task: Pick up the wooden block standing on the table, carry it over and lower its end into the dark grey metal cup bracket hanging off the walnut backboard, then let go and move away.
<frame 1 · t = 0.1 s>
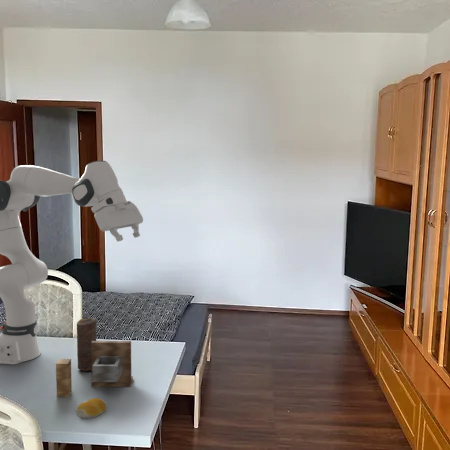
hand: (129, 238, 169), 54 cm above the table, tool tilted 30°, fingers open, 8 cm apart
bread roll: (91, 413, 158), on the table
bracket: (108, 392, 171), on the table
wooden block: (64, 394, 169), on the table
brown rough cylinder: (87, 369, 189), on the table
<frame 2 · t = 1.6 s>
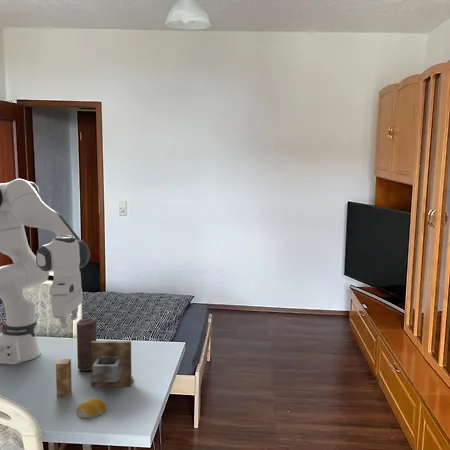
hand: (69, 323, 165), 26 cm above the table, tool pointing down, fingers open, 8 cm apart
nothing on the table moved.
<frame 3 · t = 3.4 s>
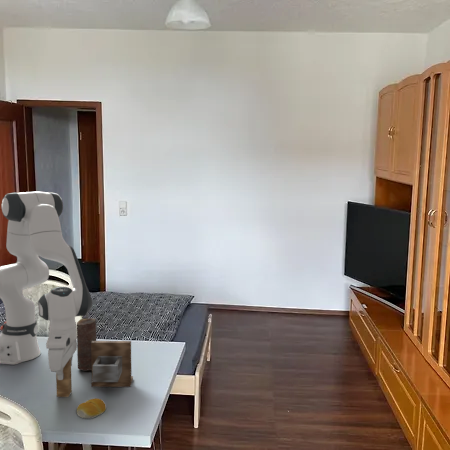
hand: (64, 373, 168), 8 cm above the table, tool pointing down, fingers open, 8 cm apart
nothing on the table moved.
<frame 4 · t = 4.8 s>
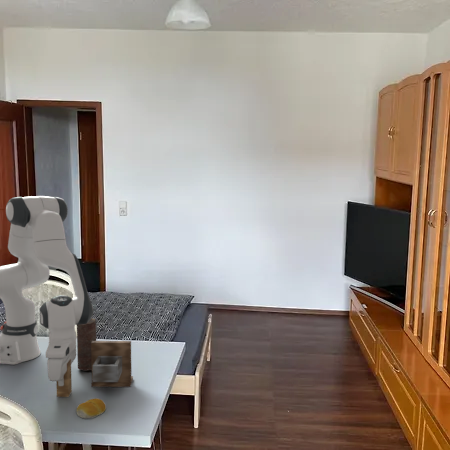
hand: (63, 381, 169), 5 cm above the table, tool pointing down, fingers closed on wooden block, 4 cm apart
wooden block: (64, 394, 169), on the table, touching gripper
everything else where it was.
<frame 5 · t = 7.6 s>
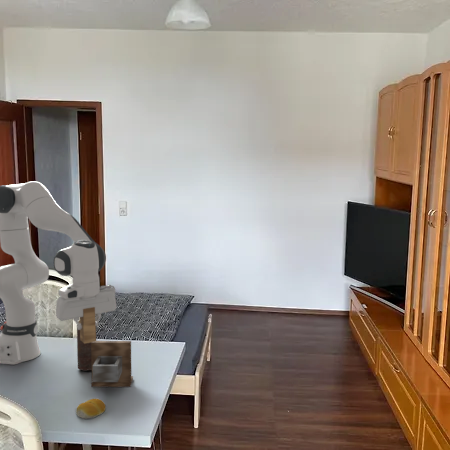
hand: (87, 327, 167), 24 cm above the table, tool pointing down, fingers closed on wooden block, 4 cm apart
wooden block: (88, 340, 167), point 19 cm above the table, touching gripper
everything else where it was.
when the fingers open (14 cm above the table, at t = 10.3 s): wooden block drops 2 cm, resting on bracket.
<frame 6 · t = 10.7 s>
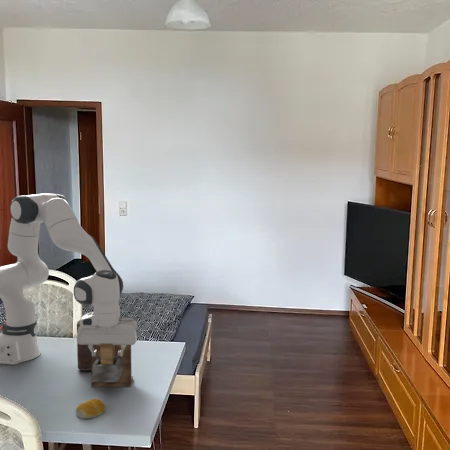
hand: (107, 356, 169), 14 cm above the table, tool pointing down, fingers open, 8 cm apart
wooden block: (107, 374, 170), point 7 cm above the table, touching bracket
everything else where it was.
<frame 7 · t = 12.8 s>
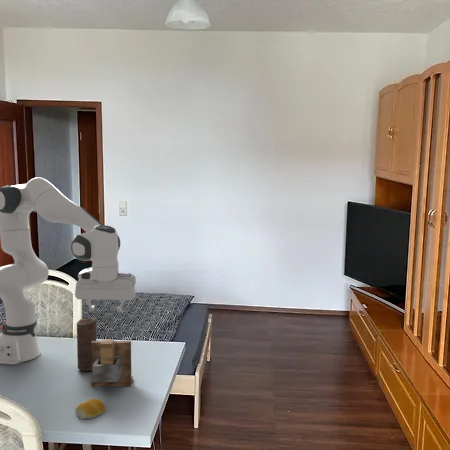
hand: (105, 311, 169), 29 cm above the table, tool pointing down, fingers open, 8 cm apart
nothing on the table moved.
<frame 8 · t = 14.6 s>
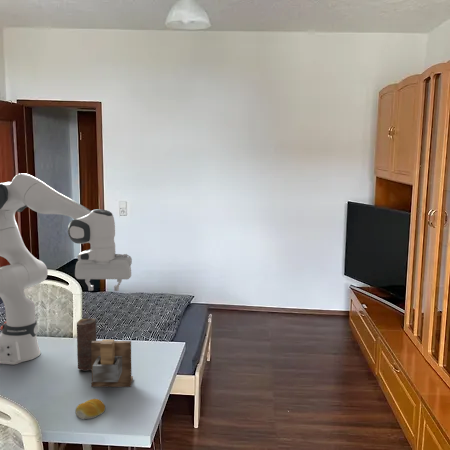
hand: (103, 290, 180), 33 cm above the table, tool pointing down, fingers open, 8 cm apart
nothing on the table moved.
at the end: wooden block 0.0 cm off-centre on the bracket, point 6.8 cm above the bracket's base; wooden block tilted 0°; the gripper is holding nothing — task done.
